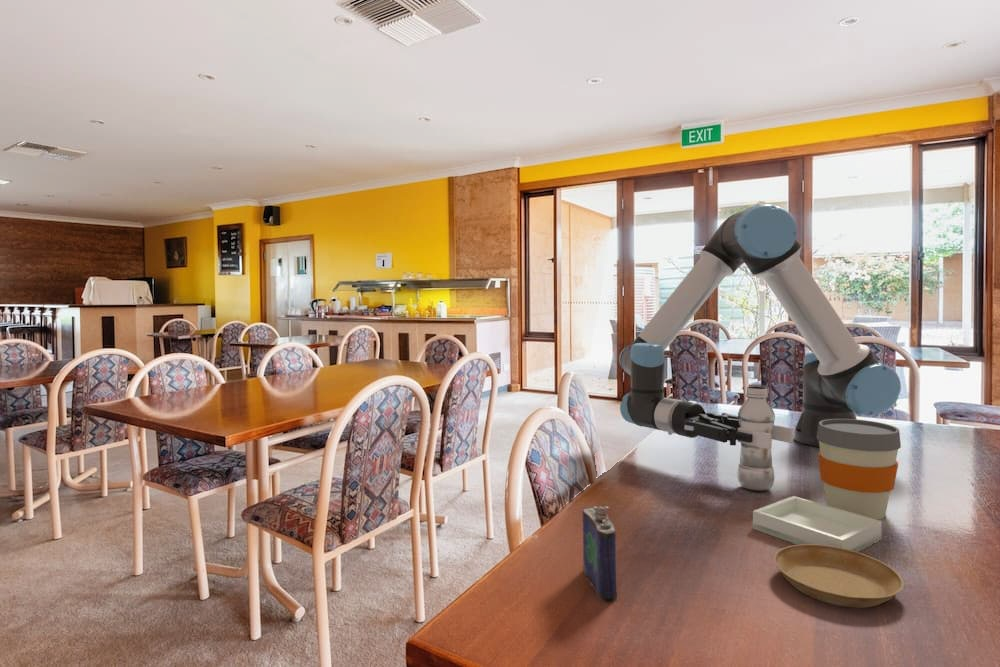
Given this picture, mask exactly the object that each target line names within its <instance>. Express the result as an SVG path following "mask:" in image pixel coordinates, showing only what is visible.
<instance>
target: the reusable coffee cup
mask: <svg viewBox="0 0 1000 667" xmlns="http://www.w3.org/2000/svg"><path fill="white" fill-rule="evenodd" d="M900 433H901V432H900V429H899V428H898V427H896V426H894V425H892V424H888V423H884V422H880V421H879V422H878V421H873V420H866V419H827V420H822V421H820V422H819V425H818V432H817V440H819V446H820V447H819V452H817V458H818V467H819V475H820V480H821V481H822V482H823V489H824V497H825V499H824V500H825V505H827V506H831V507H834V508H838V509H841V510H845V511H848V512H851V513H855V514H858V515H862V516H865V517H869V518H872V519H876V520H877V519H879V520H882V519H884V518H885V517H886V515H887V510H888V506H889V505H888V504H889V499H890V494H891V491H893V490H894V488H895V485H896V478H897V474H898V467H899V461H897V456H898V453H899V452H898V451H899V449H901V448H902V444H901V434H900Z"/></svg>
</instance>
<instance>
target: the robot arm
mask: <svg viewBox="0 0 1000 667" xmlns="http://www.w3.org/2000/svg"><path fill="white" fill-rule="evenodd" d="M797 228H798V227H797V223H796V221H795V219H794V218H793V216H792V215H791V213H789V212H788V211H787V210H786V209H784V208H782V207H781V206H778V205H774V204H761V205H758V204H757V205H755V206H751V207H749V208H747V209H745V210H742V211H740V212H736V213H734V214H732V215H730V216H729V217H727V218H726V219H725V220H724V221H723V222H722V223H721V224H720V225H719V226H718V228H717V230H716V231H714V233H713V235H712V236H711V237H710V239H709V240H708V241H707V243H706V244H705V245H704V246H703V247H702V249H701V250H700V252H699V256H700V258H699V259H698V261H697V262H696V263H695V264H694V265H693V267H692V268H691V269H690V270H689V272H688V273H687V275H686V276H685V277H684V278H683V279H682V280H681V281H680V283H679V284H678V286H677V287H676V288H675V289H674V290H673V292H672V293H671V294H670V295H669V297H668V298H667V299H666V301H665V302H664V303H663V304H662V305H661V306H660V308H659V309H658V310H657V311H656V313H655V314H654V315H653V317H652V318H651V319H650V320H649V322H648V323H647V324H646V325H645V326H644V328H643V329H642V330H641V331H640V332H639V334H638V335H637V337H636V338H635V339H634V340H633V342H632V343H631V344H630V345H627V346H626V347H624V348H623V349H622V351H620V354H619V357H618V362H619V365H620V367H621V369H622V370H623V372H625V374H627V375H628V376H630V392H627V393H625V394H624V395H623V397H622V398H621V403H620V405H619V410H620V415H621V416H622V418H623V419H624V421H626V422H628V423H631V424H634V425H636V426H639V427H644V428H648V429H653V430H659V431H662V432H667V434H668V435H669V436H672V435H674V434H676V435H678V436H682V437H686V438H690V439H692V438H693V439H694V438H697V437H703V438H706V439H710V440H713V441H717V442H721V443H727V442H728V441H729V445H730V446H737V442H738V443H740V444H741V443H744V444H749V445H753V446H758V447H762V448H766V449H771V450H772V444H773V443H772V442H773V440H774V441H779V442H783V443H788V444H793V442H794V440H795V441H796V442H798V443H801V444H803V445H806V444H807V446H811V447H816V448H820V446H819V440H817V432H818V425H819V422H820V421H822V420H827V419H857V416H856V414H858V415H859V414H860V415H866V416H877V415H880V414H884V413H886V412H887V411H889V410H890V409H891V408H892V407H893V406H894V405H895V404H896V403H897V402H898V400H899V396H900V393H901V389H902V386H901V384H902V383H901V380H900V377H899V375H898V373H897V372H896V371H895V370H894V369H893V368H891V367H890V366H888V365H886V364H884V363H880V362H879V361H878V359H877V357H876V356H875V354H874V353H873V351H872V350H871V348H870V347H869V346H868V345H866V344H861V343H857V341H856V340H855V338H854V337H853V335H852V334H851V332H850V331H849V329H848V328H847V326H846V325H845V323H844V322H843V321H842V319H841V317H840V316H839V314H838V312H837V311H836V310H835V308H834V307H833V306H832V304H831V302H830V301H829V299H828V298H827V296H826V295H825V293H824V292H823V291H822V289H821V287H820V286H819V284H818V283H817V282H816V280H815V278H814V277H813V275H812V274H811V273H810V271H809V269H808V267H807V266H806V265H805V264H804V261H803V260H802V259H801V257H800V254H801V251H802V248H803V247H802V245H801V244H800V242H799V241H798V239H797V232H798V229H797ZM744 264H745V265H746V267H747V268H748V270H749V271H750V273H751V275H752V276H754V277H758V278H759V277H760V278H762V279H763V280H764V281H765V283H766V284H767V285H768V287H769V289H770V290H771V292H772V293H773V294H774V296H775V297H776V299H777V301H778V302H779V304H780V305H781V307H782V308H783V309H784V310H785V312H786V314H787V315H788V317H789V318H790V320H791V322H792V323H793V324H794V326H795V328H796V329H797V330H798V332H799V333H800V334H801V336H802V338H803V339H804V340H805V342H806V344H807V345H808V346H809V348H810V349H811V352H808V353H806V354H805V355H804V357H803V365H802V370H803V371H802V373H803V374H802V375H803V376H802V409H801V410H802V411H801V413H800V416H799V418H798V421H797V423H796V426H795V428H792V427H787V426H781V425H778V424H777V425H776V424H774V426H773V432H772V434H769V433H764V432H759V431H754V430H750V429H745V428H740V426H739V418H738V415H733V414H730V413H726V412H723V413H721V414H717V413H715V412H706V411H705V409H704V407H703V406H702V405H701V403H698V402H693V401H687V400H682V399H677V398H670V397H665V396H664V394H665V392H664V390H665V389H664V388H665V386H664V384H665V360H666V357H665V351H666V350H667V349H668V347H669V346H670V345H671V344H672V343H673V342H674V340H675V339H676V338H677V337H678V335H679V334H680V333H681V331H682V330H683V329H684V328H685V327H686V326H687V324H688V323H689V322H690V320H692V318H693V317H694V316H695V314H697V312H698V311H699V310H700V308H701V307H702V306H703V305H704V303H705V302H706V301H707V300H708V299H709V297H711V295H712V294H713V293H714V291H715V290H716V289H717V288H718V286H719V285H720V284H721V283H722V282H723V280H724V279H725V278H726V277H730V276H733V275H734V274H735V272H736V271H737V270H738V269H739V268H740V267H741V266H742V265H744ZM857 420H858V419H857Z"/></svg>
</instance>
